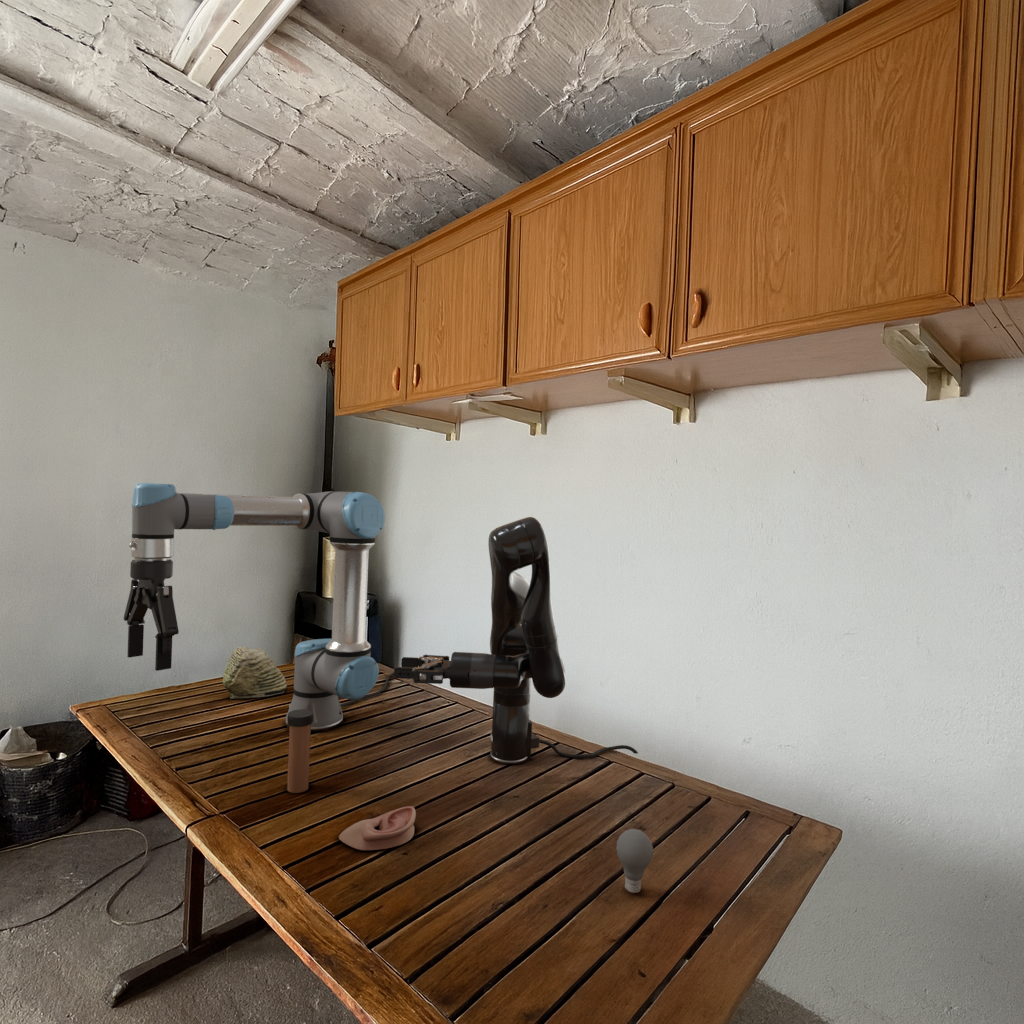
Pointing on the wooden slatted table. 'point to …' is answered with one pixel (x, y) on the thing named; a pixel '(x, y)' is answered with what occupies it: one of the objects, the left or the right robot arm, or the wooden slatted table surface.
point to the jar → (298, 759)
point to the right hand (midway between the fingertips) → (398, 667)
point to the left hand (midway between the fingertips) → (148, 662)
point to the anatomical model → (381, 830)
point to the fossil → (252, 674)
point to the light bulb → (634, 857)
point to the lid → (300, 717)
